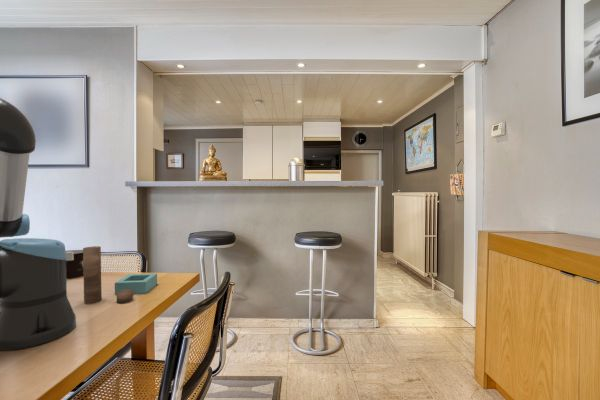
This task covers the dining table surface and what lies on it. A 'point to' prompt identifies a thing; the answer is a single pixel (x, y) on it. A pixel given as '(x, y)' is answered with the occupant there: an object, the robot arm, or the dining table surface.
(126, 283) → the hole block
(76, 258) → the coffee mug
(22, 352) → the dining table surface
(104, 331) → the dining table surface
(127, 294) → the brown rounded block
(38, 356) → the dining table surface
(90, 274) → the long pin
